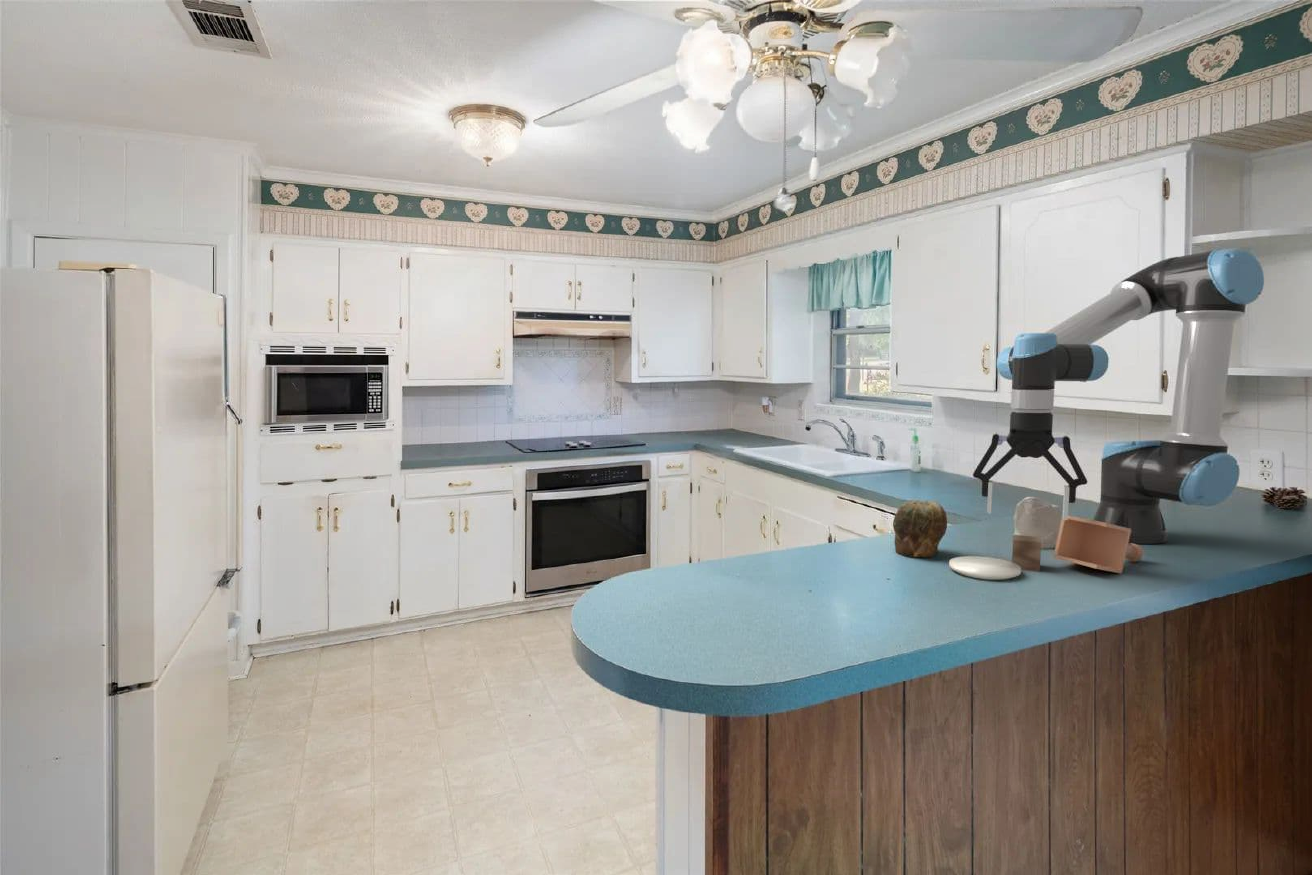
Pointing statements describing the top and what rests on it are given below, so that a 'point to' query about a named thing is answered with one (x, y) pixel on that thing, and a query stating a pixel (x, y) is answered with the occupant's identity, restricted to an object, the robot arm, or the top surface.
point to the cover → (1095, 544)
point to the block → (1027, 552)
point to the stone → (1038, 520)
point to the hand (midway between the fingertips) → (1026, 515)
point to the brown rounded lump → (919, 528)
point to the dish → (985, 567)
